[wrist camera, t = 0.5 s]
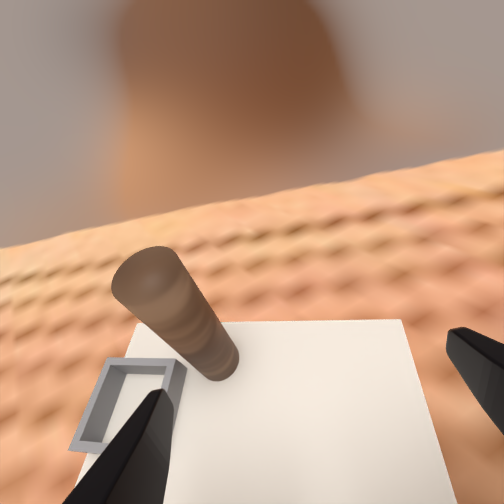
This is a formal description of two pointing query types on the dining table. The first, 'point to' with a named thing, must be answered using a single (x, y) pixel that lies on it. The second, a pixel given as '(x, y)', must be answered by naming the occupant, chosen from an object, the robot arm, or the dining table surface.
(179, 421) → the stool seat
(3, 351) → the dining table surface
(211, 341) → the stool leg
